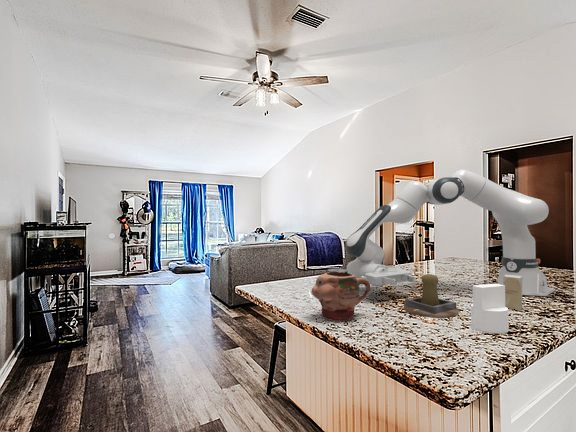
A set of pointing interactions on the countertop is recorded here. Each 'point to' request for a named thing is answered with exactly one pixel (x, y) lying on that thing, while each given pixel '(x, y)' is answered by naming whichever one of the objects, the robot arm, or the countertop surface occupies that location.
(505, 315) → the base with upright slab
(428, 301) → the cork
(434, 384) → the countertop surface
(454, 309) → the base
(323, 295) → the sculpted clay mug
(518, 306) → the box
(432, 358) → the countertop surface
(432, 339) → the countertop surface
